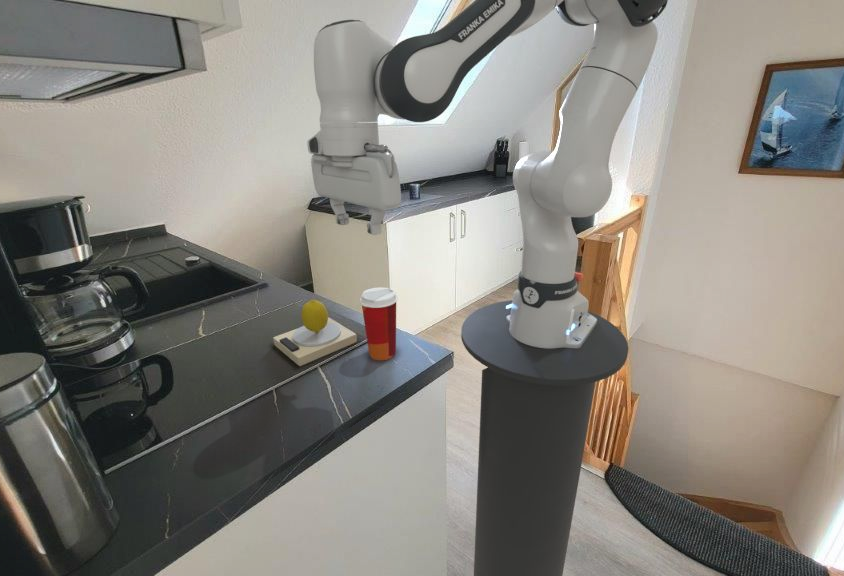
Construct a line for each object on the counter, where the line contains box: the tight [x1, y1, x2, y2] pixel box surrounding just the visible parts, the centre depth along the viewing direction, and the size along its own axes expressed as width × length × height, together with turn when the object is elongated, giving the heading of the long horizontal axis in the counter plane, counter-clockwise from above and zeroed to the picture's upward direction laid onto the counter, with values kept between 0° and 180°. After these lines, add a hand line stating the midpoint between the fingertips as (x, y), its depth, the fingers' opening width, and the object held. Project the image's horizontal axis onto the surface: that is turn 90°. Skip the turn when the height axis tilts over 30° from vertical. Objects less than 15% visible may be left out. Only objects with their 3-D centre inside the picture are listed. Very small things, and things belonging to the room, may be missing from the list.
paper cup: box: [359, 286, 399, 361], centre depth 84 cm, size 8×8×14 cm
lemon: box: [301, 299, 329, 333], centre depth 89 cm, size 6×6×8 cm
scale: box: [272, 316, 358, 367], centre depth 90 cm, size 14×12×3 cm
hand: (358, 228), depth 69 cm, fingers open, 8 cm apart
